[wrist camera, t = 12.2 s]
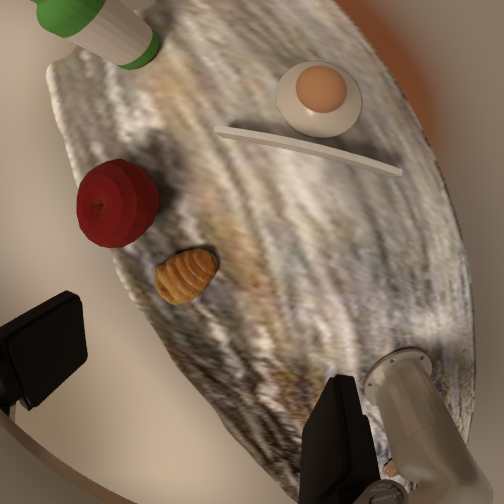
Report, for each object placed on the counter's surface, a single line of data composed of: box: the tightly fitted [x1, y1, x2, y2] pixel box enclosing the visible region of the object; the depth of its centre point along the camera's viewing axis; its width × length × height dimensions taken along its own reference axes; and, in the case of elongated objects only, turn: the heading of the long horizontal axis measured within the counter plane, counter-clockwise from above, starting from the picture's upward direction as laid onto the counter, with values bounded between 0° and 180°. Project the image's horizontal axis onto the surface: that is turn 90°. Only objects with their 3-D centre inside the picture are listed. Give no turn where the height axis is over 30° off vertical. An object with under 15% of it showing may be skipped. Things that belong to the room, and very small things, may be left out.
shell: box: [383, 458, 398, 477], centre depth 42 cm, size 12×13×4 cm
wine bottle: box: [31, 0, 159, 70], centre depth 17 cm, size 8×8×30 cm
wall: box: [214, 125, 403, 177], centre depth 30 cm, size 22×1×4 cm, turn 78°
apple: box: [77, 158, 160, 248], centre depth 31 cm, size 11×11×12 cm
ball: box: [296, 66, 347, 113], centre depth 27 cm, size 6×6×6 cm
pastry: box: [154, 248, 218, 305], centre depth 37 cm, size 9×7×4 cm
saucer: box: [276, 61, 362, 138], centre depth 30 cm, size 11×11×1 cm
